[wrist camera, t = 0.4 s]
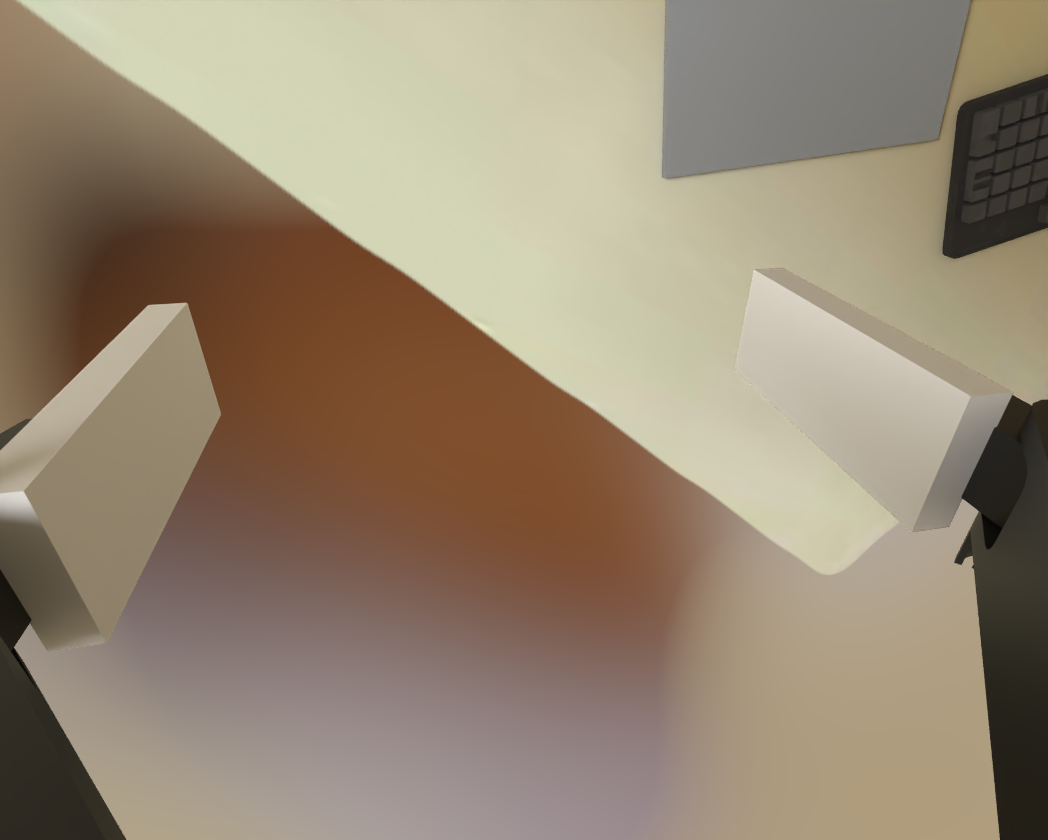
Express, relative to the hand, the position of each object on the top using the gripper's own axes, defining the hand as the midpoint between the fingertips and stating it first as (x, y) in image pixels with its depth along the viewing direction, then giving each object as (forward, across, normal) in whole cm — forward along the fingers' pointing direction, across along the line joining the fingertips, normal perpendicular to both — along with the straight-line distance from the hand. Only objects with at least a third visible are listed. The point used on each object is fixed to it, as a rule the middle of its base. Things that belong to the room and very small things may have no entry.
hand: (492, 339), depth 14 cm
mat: (+28, +24, +9) cm, 38 cm away
